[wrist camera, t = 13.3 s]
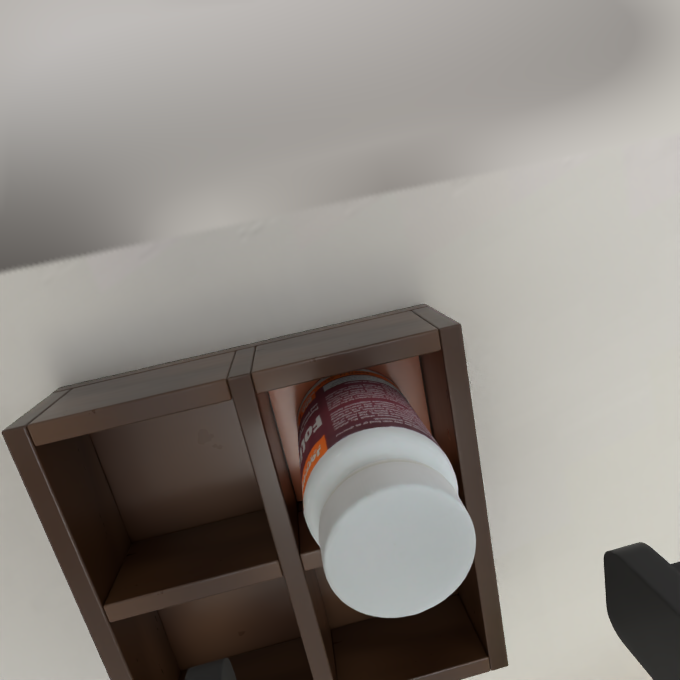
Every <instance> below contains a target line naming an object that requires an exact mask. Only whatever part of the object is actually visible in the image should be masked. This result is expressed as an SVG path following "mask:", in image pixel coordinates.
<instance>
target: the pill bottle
mask: <svg viewBox="0 0 680 680" xmlns="http://www.w3.org/2000/svg"><path fill="white" fill-rule="evenodd" d="M297 432H298V450H299V466H300V474H301V484H302V498H303V514H304V517H305V520H306V523H307V526H308V528H309V530H310V533H311V535H312V536H313V538H314V539H315V541H316V542H317V544H318V545H319V546H320V549H321V556H322V562H323V568H324V572H325V575H326V579H327V581H328V583H329V585H330V587H331V588H332V590H333V591H334V593H335V594H336V595H337V596H338V597H339V598H340V600H341V601H342V602H344V603H345V604H346V605H348V606H349V607H351V608H353V609H354V610H356V611H359V612H361V613H364V614H366V615H371V616H376V617H381V618H399V617H405V616H410V615H415V614H418V613H421V612H423V611H425V610H428V609H430V608H432V607H434V606H435V605H437V604H439V603H441V602H442V601H443V600H445V599H446V598H447V597H448V596H450V595H451V594H452V593H453V592H454V591H455V590H456V589H457V588H458V587H459V586H460V585H461V584H462V582H463V580H464V579H465V577H466V576H467V574H468V572H469V570H470V568H471V565H472V563H473V560H474V555H475V549H476V535H475V529H474V526H473V523H472V520H471V518H470V516H469V514H468V512H467V510H466V508H465V507H464V505H463V503H462V501H461V500H460V498H459V496H458V485H457V479H456V476H455V473H454V470H453V467H452V465H451V463H450V461H449V459H448V458H447V456H446V454H445V453H444V451H443V450H442V449H441V447H440V446H439V445H438V443H437V442H436V440H435V439H434V438H433V436H432V435H431V434H430V432H429V431H428V429H427V428H426V427H425V425H424V424H423V422H422V421H421V420H420V418H419V417H418V415H417V414H416V412H415V411H414V410H413V408H412V406H411V405H410V404H409V402H408V400H407V399H406V398H405V396H404V395H403V394H402V392H401V391H400V390H399V388H398V387H397V386H396V385H395V384H394V383H393V382H392V381H391V380H389V379H388V378H386V377H385V376H383V375H381V374H379V373H377V372H374V371H370V370H366V369H360V370H356V371H352V372H348V373H344V374H339V375H335V376H331V377H327V378H323V379H321V380H319V381H318V382H317V383H316V384H315V385H314V386H313V387H312V388H311V389H310V390H309V391H308V393H307V394H306V396H305V397H304V399H303V401H302V403H301V405H300V408H299V412H298V416H297Z"/></svg>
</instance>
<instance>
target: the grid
mask: <svg viewBox="0 0 680 680" xmlns="http://www.w3.org/2000/svg"><path fill="white" fill-rule="evenodd" d="M360 369H366V370H370V371H374V372H377V373H379V374H381V375H383V376H385V377H386V378H388V379H389V380H391V381H392V382H393V383H394V384H395V385H396V386H397V387H398V388H399V390H400V391H401V392H402V394H403V395H404V396H405V398H406V399H407V400H408V402H409V404H410V405H411V406H412V408H413V410H414V411H415V412H416V414H417V415H418V417H419V418H420V420H421V421H422V422H423V424H424V425H425V427H426V428H427V429H428V431H429V432H430V434H431V435H432V436H433V438H434V439H435V440H436V442H437V443H438V445H439V446H440V447H441V449H442V450H443V451H444V453H445V454H446V456H447V458H448V459H449V461H450V463H451V465H452V467H453V470H454V473H455V476H456V479H457V485H458V496H459V498H460V500H461V501H462V503H463V505H464V507H465V508H466V510H467V512H468V514H469V516H470V518H471V520H472V523H473V526H474V529H475V535H476V549H475V555H474V560H473V563H472V565H471V568H470V570H469V572H468V574H467V576H466V577H465V579H464V580H463V582H462V584H461V585H460V586H459V587H458V588H457V589H456V590H455V591H454V592H453V593H452V594H451V595H450V596H448V597H447V598H446V599H445V600H443V601H442V602H441V603H439V604H437V605H435V606H434V607H432V608H430V609H428V610H425V611H423V612H421V613H418V614H415V615H410V616H405V617H399V618H381V617H376V616H371V615H366V614H364V613H361V612H359V611H356V610H354V609H353V608H351V607H349V606H348V605H346V604H345V603H344V602H342V601H341V600H340V598H339V597H338V596H337V595H336V594H335V593H334V591H333V590H332V588H331V587H330V585H329V583H328V581H327V579H326V575H325V572H324V568H323V562H322V556H321V549H320V546H319V545H318V544H317V542H316V541H315V539H314V538H313V536H312V535H311V533H310V530H309V528H308V526H307V523H306V520H305V517H304V514H303V498H302V484H301V474H300V466H299V450H298V432H297V416H298V412H299V408H300V405H301V403H302V401H303V399H304V397H305V396H306V394H307V393H308V391H309V390H310V389H311V388H312V387H313V386H314V385H315V384H316V383H317V382H318V381H319V380H321V379H323V378H327V377H331V376H335V375H339V374H344V373H348V372H352V371H356V370H360ZM2 435H3V437H4V440H5V442H6V444H7V446H8V449H9V451H10V453H11V455H12V458H13V460H14V462H15V464H16V467H17V469H18V471H19V474H20V476H21V478H22V480H23V483H24V485H25V487H26V489H27V492H28V494H29V496H30V498H31V501H32V503H33V505H34V508H35V510H36V512H37V514H38V517H39V519H40V521H41V523H42V526H43V528H44V530H45V532H46V535H47V537H48V539H49V541H50V544H51V546H52V548H53V551H54V553H55V555H56V557H57V560H58V562H59V564H60V566H61V569H62V571H63V573H64V575H65V578H66V580H67V582H68V585H69V587H70V589H71V591H72V594H73V596H74V598H75V600H76V603H77V605H78V607H79V609H80V612H81V614H82V616H83V618H84V621H85V623H86V625H87V628H88V630H89V632H90V634H91V637H92V639H93V641H94V643H95V646H96V648H97V650H98V652H99V655H100V657H101V659H102V662H103V664H104V666H105V668H106V671H107V673H108V675H109V677H110V680H185V677H186V673H187V671H188V669H189V668H191V667H194V666H198V665H201V664H205V663H208V662H212V661H215V660H219V659H223V658H226V657H227V658H228V659H229V660H230V662H231V665H232V667H233V670H234V673H235V676H236V679H237V680H461V679H464V678H468V677H471V676H475V675H478V674H482V673H485V672H489V671H490V669H491V670H496V669H499V668H503V667H506V666H508V660H507V652H506V645H505V638H504V631H503V624H502V616H501V609H500V602H499V595H498V588H497V580H496V573H495V566H494V559H493V552H492V544H491V537H490V530H489V523H488V516H487V508H486V501H485V494H484V487H483V480H482V472H481V465H480V458H479V451H478V444H477V437H476V429H475V422H474V415H473V408H472V401H471V393H470V386H469V379H468V372H467V365H466V357H465V350H464V343H463V336H462V329H461V324H460V323H458V322H456V321H455V320H453V319H451V318H449V317H447V316H446V315H444V314H442V313H440V312H439V311H437V310H435V309H433V308H432V307H430V306H428V305H426V304H422V305H417V306H413V307H409V308H404V309H400V310H396V311H391V312H387V313H383V314H378V315H374V316H370V317H365V318H361V319H356V320H352V321H348V322H343V323H339V324H335V325H330V326H326V327H322V328H317V329H313V330H309V331H304V332H300V333H296V334H291V335H287V336H283V337H278V338H274V339H270V340H265V341H261V342H256V343H252V344H248V345H243V346H239V347H235V348H230V349H226V350H222V351H217V352H213V353H209V354H204V355H200V356H196V357H191V358H187V359H183V360H178V361H174V362H169V363H165V364H161V365H156V366H152V367H148V368H143V369H139V370H135V371H130V372H126V373H122V374H117V375H113V376H109V377H104V378H100V379H96V380H91V381H87V382H83V383H78V384H74V385H69V386H65V387H61V388H58V389H57V390H56V391H54V392H53V393H52V394H51V395H49V396H48V397H47V398H45V399H44V400H43V401H41V402H40V403H39V404H37V405H36V406H35V407H34V408H32V409H31V410H30V411H28V412H27V413H26V414H24V415H23V416H22V417H20V418H19V419H18V420H16V421H15V422H14V423H12V424H11V425H10V426H8V427H7V428H6V429H4V430H3V431H2Z"/></svg>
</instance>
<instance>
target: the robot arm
mask: <svg viewBox="0 0 680 680" xmlns="http://www.w3.org/2000/svg"><path fill="white" fill-rule="evenodd" d="M604 572H605V589H606V605H607V612H608V615H609V618H610V621H611V623H612V626H613V628H614V630H615V631H616V633H617V635H618V636H619V638H620V639H621V641H622V642H623V643H624V645H625V646H626V647H627V648H628V649H629V651H630V652H631V653H632V654H633V656H634V657H635V658H636V659H637V660H638V662H639V663H640V664H641V665H642V666H643V668H644V669H645V670H646V671H647V672H648V674H649V675H650V676H651V677H652V679H653V680H680V562H677V563H673V564H669V563H668V562H667V561H666V560H665V559H664V558H663V557H661V556H660V555H659V554H658V553H657V552H656V551H654V550H653V549H652V548H651V547H650V546H648V545H647V544H645V543H641V542H639V543H635V544H632V545H628V546H625V547H621V548H618V549H614V550H611V551H607V552H606V553H605V554H604ZM185 680H237V679H236V676H235V673H234V670H233V667H232V665H231V662H230V660H229V659H228V658H227V657H226V658H223V659H219V660H215V661H212V662H208V663H205V664H201V665H198V666H194V667H191V668H189V669H188V671H187V673H186V677H185Z"/></svg>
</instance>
